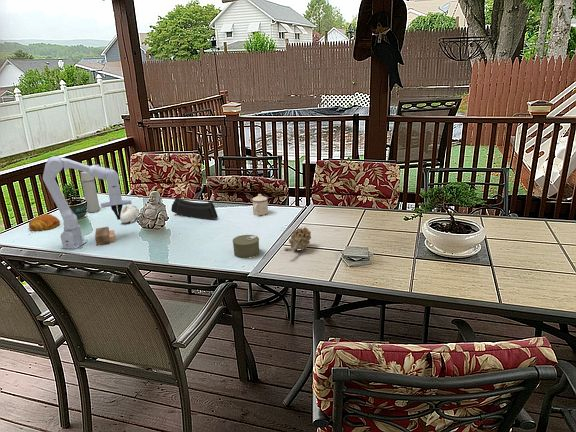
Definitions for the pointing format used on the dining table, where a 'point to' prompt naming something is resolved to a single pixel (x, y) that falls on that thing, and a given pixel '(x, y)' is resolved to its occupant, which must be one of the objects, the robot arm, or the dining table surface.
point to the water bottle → (90, 192)
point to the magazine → (194, 209)
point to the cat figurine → (129, 214)
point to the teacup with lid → (260, 205)
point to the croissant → (43, 222)
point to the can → (246, 246)
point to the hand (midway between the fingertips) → (118, 219)
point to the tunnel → (102, 236)
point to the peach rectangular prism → (111, 236)
